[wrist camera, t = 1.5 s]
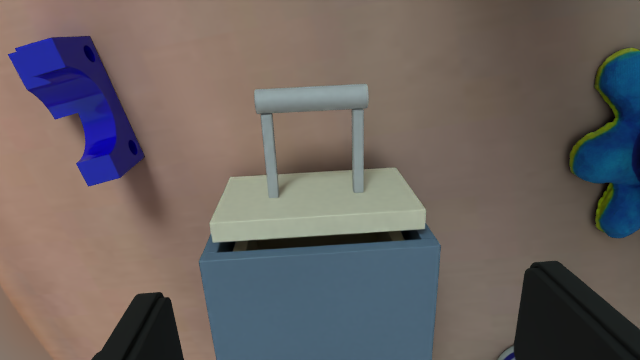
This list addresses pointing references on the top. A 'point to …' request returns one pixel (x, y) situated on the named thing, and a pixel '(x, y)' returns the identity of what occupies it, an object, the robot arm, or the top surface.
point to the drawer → (315, 188)
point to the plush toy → (615, 146)
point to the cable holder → (81, 102)
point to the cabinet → (324, 300)
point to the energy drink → (508, 354)
